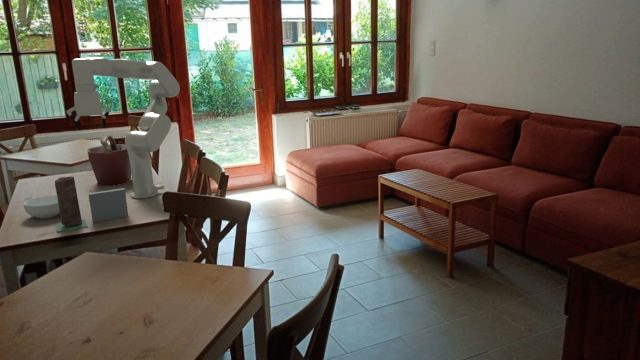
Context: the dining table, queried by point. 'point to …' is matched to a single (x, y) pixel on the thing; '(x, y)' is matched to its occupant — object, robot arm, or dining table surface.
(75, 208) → the brown textured block
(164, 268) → the dining table surface
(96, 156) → the bucket
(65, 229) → the mat
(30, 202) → the cereal bowl
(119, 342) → the dining table surface
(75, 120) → the robot arm
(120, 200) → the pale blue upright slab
